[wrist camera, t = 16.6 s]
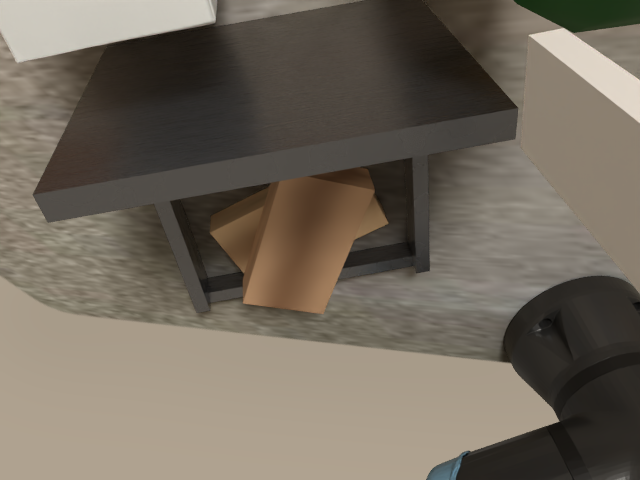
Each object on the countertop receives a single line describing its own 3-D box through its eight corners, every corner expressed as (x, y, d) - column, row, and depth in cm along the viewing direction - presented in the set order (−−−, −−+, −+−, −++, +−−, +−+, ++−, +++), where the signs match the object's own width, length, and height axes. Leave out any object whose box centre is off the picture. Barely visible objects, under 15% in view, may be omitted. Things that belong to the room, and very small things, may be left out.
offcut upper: (367, 168, 44) (375, 190, 41) (319, 290, 51) (323, 313, 49) (280, 150, 42) (282, 171, 40) (242, 279, 49) (243, 303, 47)
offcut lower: (381, 203, 50) (388, 223, 47) (253, 264, 52) (254, 286, 50) (348, 142, 46) (354, 161, 43) (211, 211, 48) (209, 232, 46)
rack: (421, 249, 53) (488, 415, 39) (198, 289, 52) (185, 471, 38) (414, -9, 38) (518, 108, 24) (106, 46, 38) (32, 194, 24)
